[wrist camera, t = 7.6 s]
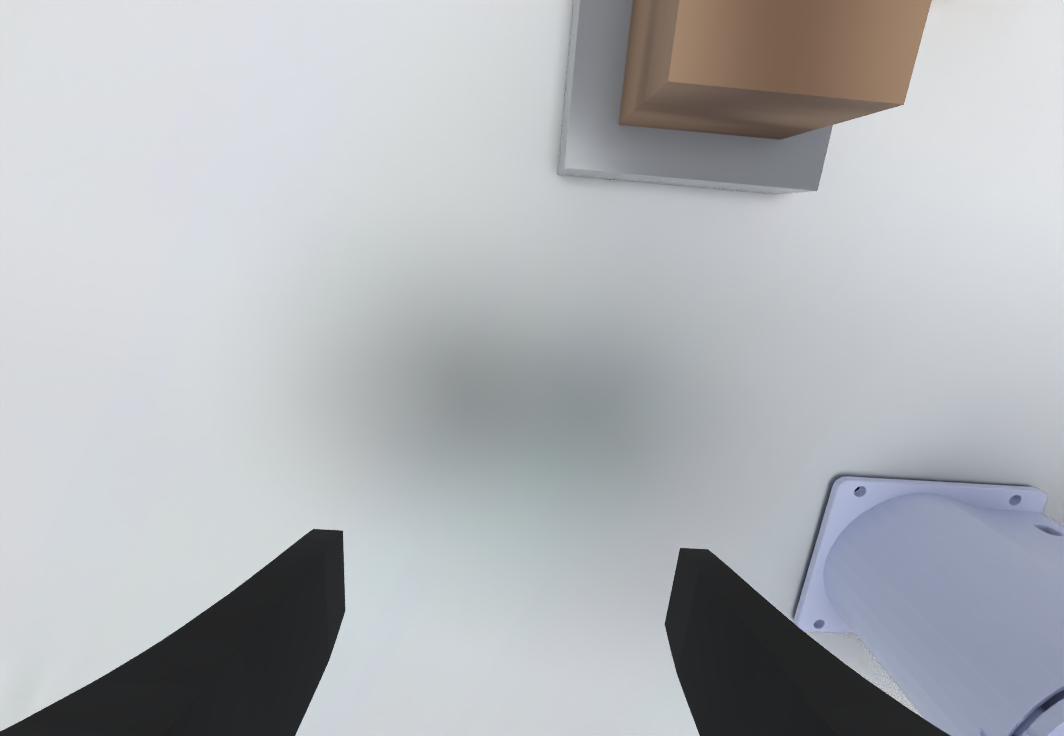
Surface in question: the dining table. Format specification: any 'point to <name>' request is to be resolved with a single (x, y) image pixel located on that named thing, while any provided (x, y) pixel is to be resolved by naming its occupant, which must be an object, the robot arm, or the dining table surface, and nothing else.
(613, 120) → the slate base
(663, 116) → the walnut cube
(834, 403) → the dining table surface
